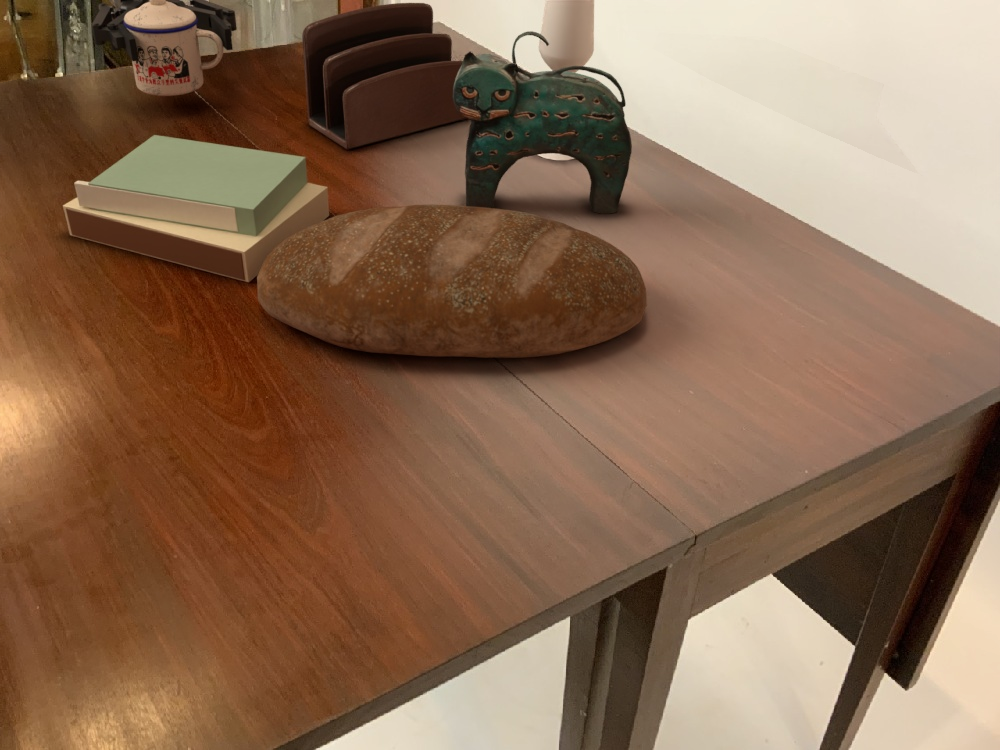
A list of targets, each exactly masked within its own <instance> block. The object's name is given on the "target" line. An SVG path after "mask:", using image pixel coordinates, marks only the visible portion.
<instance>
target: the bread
mask: <svg viewBox="0 0 1000 750" xmlns="http://www.w3.org/2000/svg"><path fill="white" fill-rule="evenodd" d="M256 282H257V283H256V284H257V288H256V289H257V290H256V291H257V300H258V302H259V304H260V305H261V307H262V309H263V310H264V311H265V312H266V313H267V314H268V315H269V316H270V317H272V318H273V319H275V320H277V321H278V322H281V323H283V324H285V325H287V326H289V327H291V328H293V329H296V330H299V331H301V332H303V333H306V334H308V335H310V336H312V337H314V338H316V339H319V340H321V341H323V342H326V343H328V344H331V345H334V346H337V347H340V348H344V349H350V350H354V351H359V352H366V353H375V354H376V353H377V354H390V355H404V356H405V355H407V356H419V357H471V358H534V357H535V358H536V357H547V356H554V355H560V354H565V353H569V352H573V351H576V350H580V349H584V348H587V347H591V346H595V345H598V344H601V343H604V342H607V341H609V340H612V339H615V338H617V337H619V336H621V335H622V334H624V333H626V332H628V331H629V330H631V329H632V328H634V327H635V326H637V325H638V324H639V323H641V322H642V320H643V316H644V314H645V312H646V309H647V306H648V302H647V301H648V299H647V288H646V285H645V281H644V279H643V275H642V274H641V271H640V269H639V267H638V266H637V265H636V263H635V262H634V261H633V260H632V259H631V258H630V257H629V256H628V255H627V254H626V253H624V252H623V251H622V250H621V249H619V248H618V247H616V246H615V245H613V244H612V243H610V242H608V241H606V240H604V239H603V238H601V237H599V236H596V235H594V234H592V233H590V232H588V231H584V230H581V229H578V228H575V227H573V226H570V225H569V224H566V223H564V222H561V221H558V220H554V219H551V218H548V217H545V216H540V215H537V214H533V213H529V212H525V211H519V210H511V209H501V208H494V207H493V208H485V207H470V206H466V205H454V204H453V205H452V204H434V203H433V204H414V205H406V206H405V205H404V206H382V207H375V208H367V209H360V210H356V211H350V212H346V213H342V214H337V215H334V216H332V217H328V218H326V219H325V220H323V221H322V222H319V223H317V224H315V225H312V226H310V227H308V228H306V229H304V230H301V231H299V232H297V233H295V234H293V235H292V236H290V237H289V238H287V239H286V240H284V241H283V242H281V243H280V244H279V245H278V246H276V247H275V248H274V250H273V251H272V252H271V253H270V254H269V255H268V256H267V258H266V259H265V261H264V263H263V264H262V266H261V269H260V271H259V274H258V275H257V276H256Z"/></svg>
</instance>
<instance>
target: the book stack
mask: <svg viewBox="0 0 1000 750" xmlns="http://www.w3.org/2000/svg"><path fill="white" fill-rule="evenodd" d="M306 159H307V158H306V156H300V155H294V154H286V153H280V152H273V151H266V150H259V149H254V148H245V147H240V146H233V145H225V144H220V143H219V144H218V143H212V142H206V141H198V140H191V139H184V138H179V137H178V138H177V137H171V136H166V135H159V134H158V135H157V134H153V135H152V136H151V137H149V138H148V139H146V140H145V141H144V142H142V143H141V144H139V146H137V147H135V148H134V149H133V150H132V151H130V152H128V153H127V154H126V155H125V156H123V157H122V158H121V159H119V160H117V162H115V163H113V164H112V165H111V166H109V167H108V168H106V170H103V172H101V173H100V174H98V175H97V176H96V177H95V178H93V179H92V180H91V181H84V180H76V181H75V182H74V189H75V192H76V197H75V198H73V199H71V200H70V201H68V202H66V203H64V204H62V209H63V212H64V216H65V217H64V218H65V220H66V224H67V228H68V229H67V230H68V233H69V236H71V237H75V238H78V239H82V240H87V241H90V242H94V243H98V244H102V245H106V246H109V247H113V248H115V249H121V250H124V251H127V252H132V253H134V254H135V253H136V254H139V255H144V256H146V257H151V258H155V259H159V260H162V261H166V262H170V263H174V264H177V265H181V266H185V267H188V268H191V269H195V270H199V271H203V272H207V273H211V274H215V275H219V276H223V277H226V278H231V279H233V280H237V281H242V282H245V283H250V282H252V281H253V280H254V279H255V278H257V277H258V274H259V271H260V269H261V266H262V264H263V263H264V261H265V259H266V258H267V256H268V255H269V254H270V253H271V252H272V251H273V250H274V248H275V247H276V246H278V245H279V244H280V243H281V242H283V241H284V240H286V239H287V238H289V237H290V236H292V235H293V234H295V233H297V232H299V231H301V230H304V229H306V228H308V227H310V226H312V225H315V224H317V223H319V222H322V221H325V220H327V219H328V218H329V216H330V206H329V205H330V204H329V190H328V188H329V187H328V186H324V185H321V184H316V183H312V182H308V170H307V160H306Z"/></svg>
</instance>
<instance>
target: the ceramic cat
mask: <svg viewBox="0 0 1000 750" xmlns="http://www.w3.org/2000/svg"><path fill="white" fill-rule="evenodd" d="M526 36H534V37H536V38H538V39H539V40H540V39H541V40H542V41H543V42H545V43H546V45H547V46H548V45H549V43H548V41H547V40H546V39H545V38H544V36H542V35H541V33H539V32H536V31H532V30H531V31H529V30H528V31H524V32H522V33H521V34H518V36H516V38H515V40H514V41H513V44H512V49H511V62H510V63H509V62H507V61H506V60H505V59H503V58H501V57H499V56H497V55H493V54H489V53H482V54H477V55H475V53H473V52H472V51H468V52H467V53H466V54H464V57H463V59H462V61H463V62H462V66H461V67H460V69H459V71H458V73H457V76H456V79H455V82H454V88H453V101H454V104H455V106H456V109H457V111H458V112H459V113H460V114H461V115H462V116H464V117H465V118H467V119H466V120H470V126H469V128H468V129H469V130H468V134H467V140H466V146H465V147H466V149H465V167H464V178H465V206H470V207H485V208H494V206H495V198H496V194H497V190H498V188H499V185H500V182H501V180H502V178H503V177H504V175H505V174H506V173H507V172H508V171H509V169H510V168H511V167H512V166H513V165H514V164H515V163H517V162H518V161H519V160H522V159H523V158H526V157H527V158H528V157H533V156H538V155H539V154H548V153H555V154H562V155H567V156H570V157H573V158H575V160H577V162H579V163H580V164H581V165H583V167H585V169H586V171H587V172H588V175H589V180H590V189H589V196H588V197H589V198H588V200H589V205H590V209H591V211H592V212H594V213H597V214H616V213H618V210H619V206H620V202H621V197H622V194H623V190H624V187H625V183H626V179H627V177H628V174H629V168H630V160H631V157H632V153H633V152H632V150H633V144H632V142H633V141H632V136H631V131H630V130H629V127H628V124H627V122H626V119H625V116H626V115H625V111H624V108H625V107H626V105H627V104H626V99H625V94H624V91H623V87H622V86H621V84H620V83H619V82H618V80H617V79H616V78H615V77H614V76H613V75H612V74H611V73H609V72H606V71H604V70H602V69H599V68H596V67H591V66H585V65H584V66H571V67H565V68H561V69H558V70H554V71H552V70H543V71H537V72H528V71H526V70H524V69H522V68H520V67H518V63H517V60H516V53H515V49H516V46H517V42H518V41H519V40H520V39H521V38H524V37H526ZM569 70H578V71H585V72H589V73H591V74H597V75H600V76H603V77H605V78H606V79H608V80H609V81H610V82H611V83H612V84H613V85H614V86H615V87H616V88H617V90H618V91H619V94H620V97H621V101H620V100H619V99H618V97H617V96H616V95H615V94H614V92H612V90H611V89H610V88H609V87H608V86H606V85H605V84H604V83H602V82H601V81H600V80H598V79H596V78H594V77H592V76H589V75H585V74H581V73H577V72H576V73H573V72H566V71H569Z"/></svg>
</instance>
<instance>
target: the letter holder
mask: <svg viewBox="0 0 1000 750" xmlns="http://www.w3.org/2000/svg"><path fill="white" fill-rule="evenodd" d="M433 32H434V11H433V7H432V5H430V4H428V3H424V2H396V3H388V4H387V3H386V4H380V5H373V6H368V7H363V8H359V9H354V10H350V11H346V12H342V13H339V14H335V15H332V16H328V17H325V18H322V19H319V20H317V21H314V22H311V23H309V24H307V25H306V26H305V27H304V29H303V31H302V34H301V35H302V36H301V37H302V52H303V66H304V78H305V79H304V80H305V93H306V103H307V106H306V108H307V122H308V126H309V127H310V128H313V129H315V131H317V132H318V133H321V134H322V135H323V136H325V137H327V138H328V139H330V140H331V141H333V142H334V143H336V144H337V145H339V146H340V147H342V148H344V149H345V150H347V151H348V150H349V151H350V150H352V149H356V148H360V147H363V146H367V145H371V144H377V143H380V142H383V141H387V140H390V139H394V138H395V139H396V138H399V137H403V136H406V135H411V134H415V133H417V132H418V133H419V132H421V131H425V130H428V129H432V128H436V127H440V126H444V125H448V124H452V123H455V122H460V121H463V120H468V119H467V118H465V117H464V116H462V115H461V114H460V113H459V112H458V111H457V109H456V106H455V104H454V101H453V88H454V82H455V79H456V76H457V73H458V71H459V69H460V67H461V66H462V62H463V60H452V51H453V48H452V47H453V41H452V37H451V35H450V34H447V33H433Z"/></svg>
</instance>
